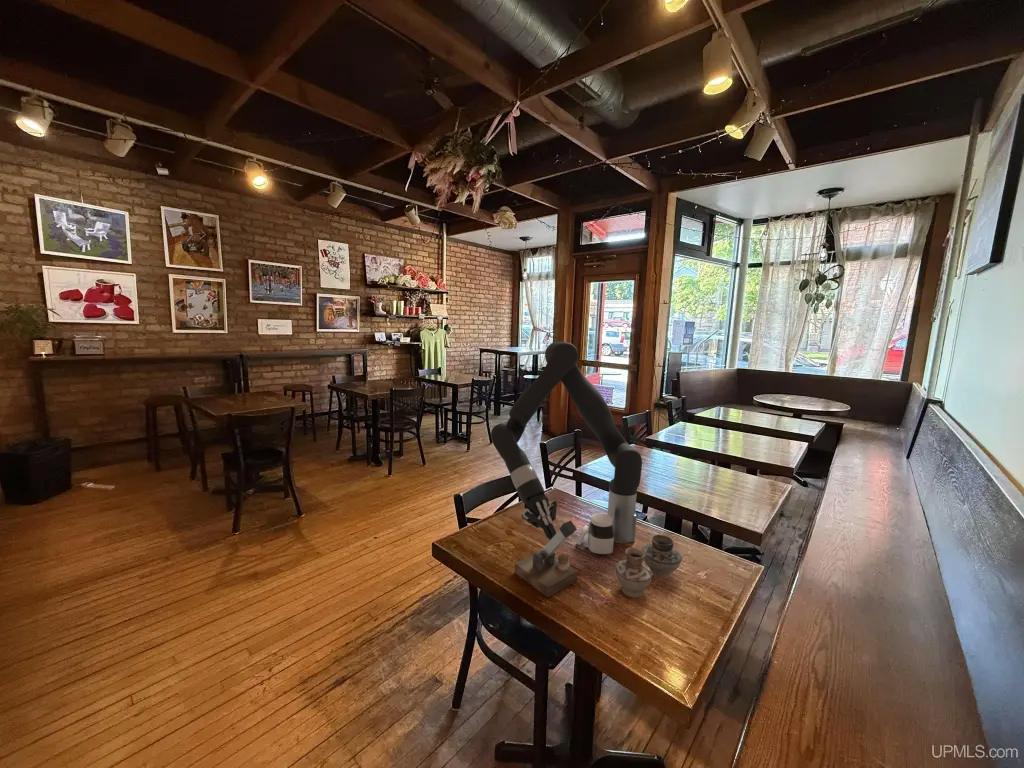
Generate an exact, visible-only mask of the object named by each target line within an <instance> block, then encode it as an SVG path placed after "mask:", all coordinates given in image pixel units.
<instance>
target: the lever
mask: <svg viewBox="0 0 1024 768" xmlns="http://www.w3.org/2000/svg"><path fill="white" fill-rule="evenodd" d="M576 530H577V526H575V524H574V523H573V522H572V520H568V521H567V522H564V523H562V524H561V526H560V527H559V530H558V531H556V535H555V536H554V537H553V538H552V539H551V540H549V542H547V544H545V545H544V547H543V548H542V550H540V551H541V552H540V551H539V552H540V554H541V555H543V560H546V559H548V558H550V557H551V556H552V555H553V553H554V552H555V553H556V551H558V549H559V548H560V547H561V546H562V545H563V544H564V543H565V542H566V540H567V539H568V538H569V537H571V536H572V535H574V534H575V532H576Z"/></svg>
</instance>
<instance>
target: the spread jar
mask: <svg viewBox="0 0 1024 768" xmlns="http://www.w3.org/2000/svg"><path fill="white" fill-rule="evenodd" d="M586 534H587V548H588V552H590V554H591V555H593V556H596V557H602V558H603V557H604V558H605V557H609V556H610V555H612V553H613V550H614V543H615V542H614V531H613V526H612V517H611V516H609V515H608V513H602V512H597V513H593V514H592V515H591V516H590V521H589V522H588V525H587V524H585V525H584V526H583V528H582V530H581V531H580V534H579V536H578V538H577V541H576V545H578V546H581V545H582V542H583V541H584V539H585V537H586Z"/></svg>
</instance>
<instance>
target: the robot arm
mask: <svg viewBox="0 0 1024 768" xmlns="http://www.w3.org/2000/svg"><path fill="white" fill-rule="evenodd" d="M544 358H545V361H546V365H545V366H544V368H543V370H542V371H541V372H540V374H539V375H538V376H537V378H535V380H534V381H533V382H532V383H531V384H530V385H528V387H527V388H525V390H524V391H523V392H522V393H521V394H520V396H519V397H518V398H517V400H516V401H515V403H514V404H513V405H512V407H510V409H509V412H508V415H509V417H508V420H507V423H506V424H505V423H498V424H496V425H494V426H493V428H491V432H490V439H491V441H492V444H493V446H494V447H495V449H496V451H497V453H498V454H499V456H500V457H501V458H502V460H503V461H504V464H505V467H506V468H507V470H508V473H509V475H510V478H511V481H512V484H513V485H514V487H515V490H516V492H517V495H518V496H519V499H520V501H521V503H523V504H524V505H523V506H524V512H523V513H522V514H521V518H522V519H523V520H525V521H526V522H528V523H529V524H530V525H532V526H533V527H535V529H536V528H537V529H538V528H540V529H542V530H543V533H544V534H545V537H546V538H547V539H548V540H549V541H550V540H551V539H552V538H553V537H554V536H555V535H556V533H557V531H556V528H555V527H554V524H553V522H554V521H555V520H556V518H557V504H558V503H557V501H556V500H554V501H551V500H550V499H549V498H548V497H547V495H545V488H544V487H543V485H542V483H541V481H540V478H539V477H538V475H537V472H536V470H535V469H534V467H533V465H531V462H530V460H529V457H528V456H527V454H526V451H524V450H523V449H522V448H521V447H520V446H519V445H518V443H519V441H520V439H521V438H522V436H523V434H524V432H525V430H526V427H527V424H528V423H529V422H530V421H531V419H532V418H533V416H534V415H535V413H536V412H537V411H538V410H539V408H540V406H541V405H542V404H543V402H544V401H545V399H546V398H547V397H548V396H549V394H550V393H551V392H552V390H553V389H554V388H555V387H556V386H557V385H558V384H559V382H560V381H561V383H562V384H563V386H564V388H565V389H566V392H567V393H568V395H569V396H570V399H571V401H572V402H573V404H574V406H575V408H576V409H577V411H578V413H579V414H580V416H581V418H582V419H583V420H584V421H585V423H586V425H587V426H588V427H589V429H590V430H591V432H592V433H593V434H594V435H595V437H597V439H598V441H599V442H600V444H601V446H602V448H603V450H604V452H605V454H606V457H607V458H608V461H609V462H610V464H611V465H612V466H613V467H614V473H613V474H614V476H613V478H612V479H611V480H610V481H609V486H608V487H609V488H608V503H607V515H609V516H611V517H612V526H613V531H614V542H613V543H618V544H628V543H629V544H630V543H635V541H636V526H637V513H636V508H637V506H636V505H637V494H638V493H637V492H638V489H639V487H640V484H641V478H642V477H641V475H642V469H643V460H642V459H643V458H642V455H641V453H639V451H638V450H637V449H636V448H634V447H633V446H631V445H630V444H629V443H628V442H627V441H626V439H625V438H624V436H623V435H622V434H621V432H620V431H619V429H618V428H617V426H616V424H615V420H614V416H613V413H612V410H611V408H610V407H609V406H608V404H607V402H606V400H605V398H604V397H603V395H602V394H601V393H600V391H599V390H598V389H597V388H596V387H595V386H594V384H593V383H592V382H590V380H589V379H588V378H587V377H586V376H585V375H584V374H583V372H582V371H581V370H580V368H579V366H578V364H577V363H578V360H579V350H578V348H577V347H576V346H575V345H574V344H573V343H571V342H567V341H555V342H551V343H550V344H548V346H547V347H546V349H545V352H544Z"/></svg>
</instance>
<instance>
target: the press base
mask: <svg viewBox="0 0 1024 768" xmlns="http://www.w3.org/2000/svg"><path fill="white" fill-rule="evenodd" d="M541 551H542V550H539V551H534V552H533V553H532V554H531V555H529V556H528V557H526V558H523V559H521V560H519V561H517V562H515V563H514V573H515V574H516V575H517V576H519V577H520V578H521V579H523V580H524V581H526V582H527V583H528V584H529V585H530V586H532V587H533V588H534V589H536V590H538V592H540V593H541V594H542V595H544V596H545V597H547V598H549V597H551V596H553V595H554V594H556V593H558V592H560V591H561V590H563V589H565V588H567V587H568V586H570V585H573V584H574V583H575V582H577V581H578V570H577V569H575V568H574V567H573V566H571V562H570V561H571V560H569V556H568V555H567V554H566V553H563V552H562V553H560V554H558V557H557V556H556V551H555V552H554V553H553V555H552V556H551V557H550V558H548V559H546V560H543V555H541V554H540V552H541Z"/></svg>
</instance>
